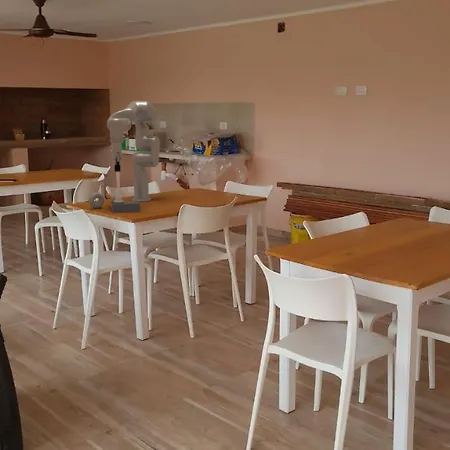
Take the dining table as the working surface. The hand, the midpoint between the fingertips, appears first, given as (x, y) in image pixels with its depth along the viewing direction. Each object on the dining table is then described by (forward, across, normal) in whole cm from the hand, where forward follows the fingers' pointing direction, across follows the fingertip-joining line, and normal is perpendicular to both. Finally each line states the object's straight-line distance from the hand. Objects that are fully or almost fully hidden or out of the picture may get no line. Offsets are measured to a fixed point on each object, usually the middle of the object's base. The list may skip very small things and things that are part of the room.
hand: (117, 171), depth 361 cm
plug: (+24, 0, 0) cm, 24 cm away
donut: (+24, -11, -12) cm, 29 cm away
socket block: (+23, 0, +4) cm, 24 cm away
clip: (+17, -9, -4) cm, 20 cm away
